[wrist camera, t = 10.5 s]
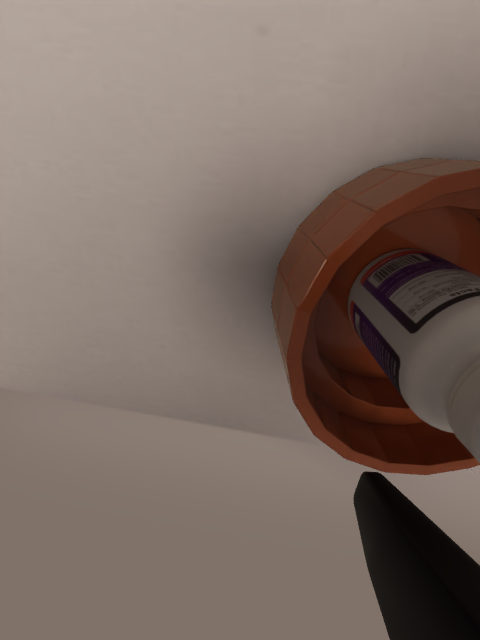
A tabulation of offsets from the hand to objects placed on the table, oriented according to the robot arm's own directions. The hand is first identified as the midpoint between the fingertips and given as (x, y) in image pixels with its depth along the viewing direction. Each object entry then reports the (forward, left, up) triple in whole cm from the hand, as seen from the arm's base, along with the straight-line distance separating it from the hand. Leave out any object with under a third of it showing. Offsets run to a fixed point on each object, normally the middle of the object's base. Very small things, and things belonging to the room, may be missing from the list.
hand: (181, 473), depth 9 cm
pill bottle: (+1, -10, -11) cm, 15 cm away
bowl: (+1, -10, -12) cm, 15 cm away
